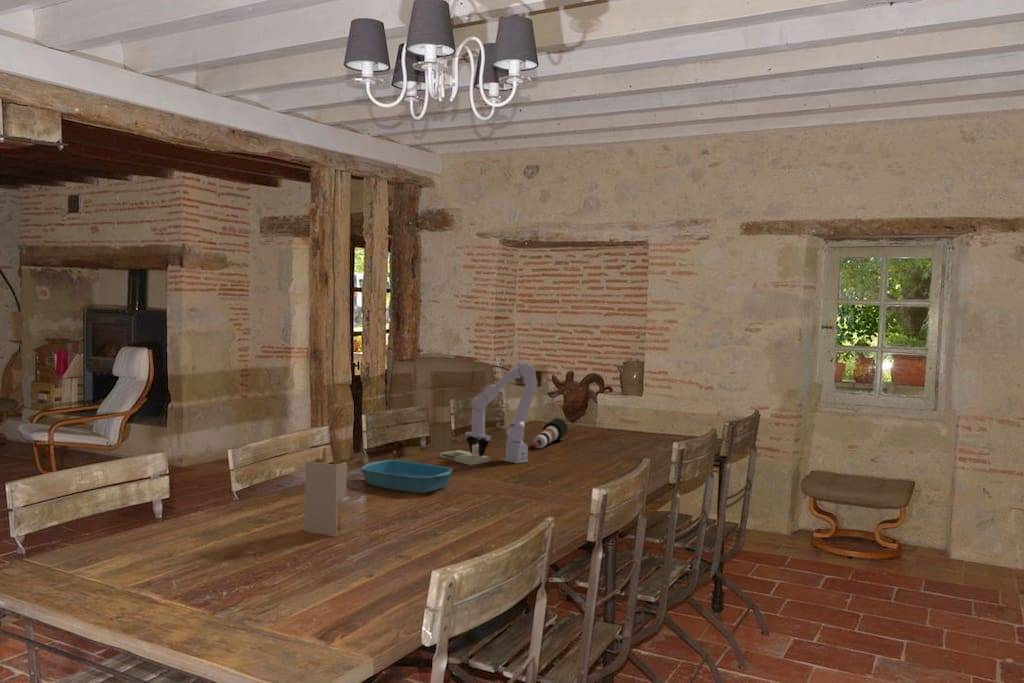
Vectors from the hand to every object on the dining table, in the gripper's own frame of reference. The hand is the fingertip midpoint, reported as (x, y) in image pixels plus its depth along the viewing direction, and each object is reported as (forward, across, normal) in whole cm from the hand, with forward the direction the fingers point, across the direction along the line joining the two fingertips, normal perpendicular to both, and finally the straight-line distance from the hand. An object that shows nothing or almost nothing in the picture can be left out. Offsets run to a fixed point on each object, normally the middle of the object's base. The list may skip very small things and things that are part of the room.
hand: (477, 454), depth 356 cm
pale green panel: (+3, -6, -2) cm, 7 cm away
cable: (+3, -10, +56) cm, 57 cm away
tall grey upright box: (+3, +50, -108) cm, 119 cm away
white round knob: (+1, 0, 0) cm, 1 cm away
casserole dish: (+3, +17, -52) cm, 55 cm away
